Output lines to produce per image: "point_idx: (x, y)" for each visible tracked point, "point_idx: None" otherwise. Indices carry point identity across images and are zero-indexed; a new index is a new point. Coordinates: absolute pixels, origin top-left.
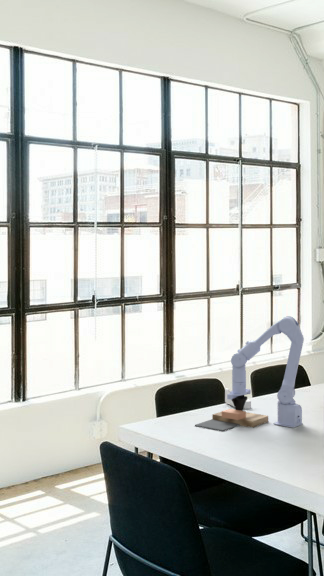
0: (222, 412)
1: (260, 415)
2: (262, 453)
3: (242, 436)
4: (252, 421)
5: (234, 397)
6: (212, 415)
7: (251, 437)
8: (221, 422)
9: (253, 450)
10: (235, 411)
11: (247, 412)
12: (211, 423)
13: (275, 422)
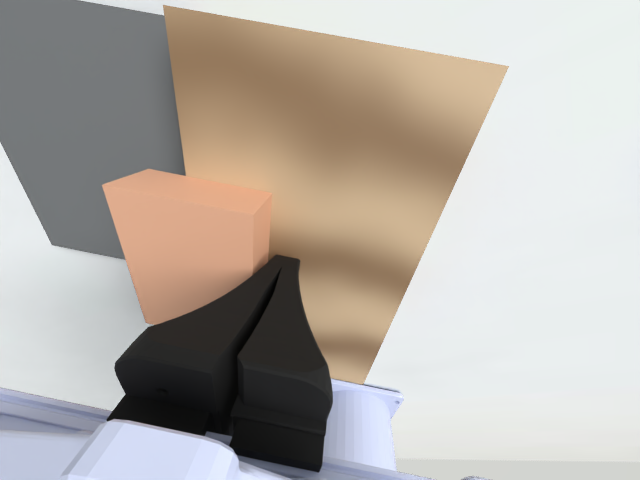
0: (114, 192)
1: (353, 358)
2: (29, 392)
3: (87, 326)
4: None
5: (80, 423)
6: (172, 9)
7: (107, 350)
8: (165, 163)
9: (22, 376)
10: (196, 290)
11: (406, 284)
12: (83, 104)
13: (336, 385)
